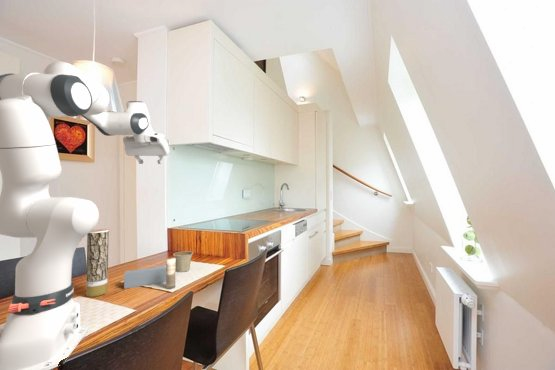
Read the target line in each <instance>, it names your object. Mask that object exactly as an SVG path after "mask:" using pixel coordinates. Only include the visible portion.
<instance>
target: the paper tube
mask: <svg viewBox="0 0 555 370" xmlns="http://www.w3.org/2000/svg"><path fill="white" fill-rule="evenodd" d="M109 232H110V231H109V229H107V228H97V229H95V228H94V229H93V230H92V231H91V232H90V233H88V234H87V235H86V237H87V239H86V243H87V245H86V286H85V287H86V296H87V297H90V298H95V297H100V296H102V295H105V294H106V293H107V292H108V290H109V289H108V288H109V286H108V285H109V284H108V283H109V281H108V280H109V236H110V235H109Z"/></svg>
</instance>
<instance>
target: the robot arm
mask: <svg viewBox="0 0 555 370" xmlns="http://www.w3.org/2000/svg"><path fill="white" fill-rule="evenodd" d="M109 94H110V93H109V92H108V90H107V89H106V87H105V86H104V85H103V84H101V82H99V81H98V80H97V79H95V78H94V77H93V76H91V75H90V74H89V73H87V72H86V71H84V70H83V69H80V68H79V67H77V66H75V65H74V64H71V63H69V62H65V61H54V62H51V63H50V64H48V65H47V66H46V67H45V69H44V71H43V73H40V72H23V73H3V74H0V175H1V179H2V184H1V192H0V235H2V236H7V237H11V238H27V239H29V238H33V239H34V238H36V242H35V245H34V248H33V250H32V252H31V253H29V254H27V255H26V256H24V257H23V258H21V259H20V260H19V261H18V262H17V263H16V266H15V279H14V281H15V282H14V287H15V288H14V294H13V295H12V299H11V302H10V304H9V306H8V310H7V313H8V314H7V316H6V321H5V323H4V327H3V328H2V329H3V330H2V332H1V335H0V370H54V369H55V368H57V367H59V366H58V364H59V362H60V361H61V360H63V359H65V358H67V357H68V358H69V357H70V356H71V354H72V353H73V351H74V350H75V349H76V347H77V346H78V345H79V343H81V341H82V340H83V339H84V338H85V336H86V335H87V333H88V327H87V326H81V310H80V309H81V307H80V305H81V304H80V303H78V301H76V300H74V298H73V297H74V291H75V290H74V289H75V288H74V283H73V282H72V274H73V273H72V272H73V271H72V270H73V261H74V260H73V259H74V256H75V253H76V252H75V251H76V250H77V248H78V246H79V244H80V242H81V241H82V240H83V239H84V238H85V237H87V234H88V233H90V232H91V231H92V230H95V228H96V227H97V225H98V224H99V223H98V222H99V221H100V220H99V219H100V211H99V208H98V207H97V205H96V203H95V202H93V201H91V200H90V199H86V198H81V197H74V196H51V195H50V192H49V191H50V184H51V183H52V182H54V181H55V180H57V179H58V178H59V177H60V176H61V175H62V172H63V168H62V164H61V160H60V155H59V151H58V148H57V144H56V143H57V142H56V140H55V139H56V138H55V136H54V133H53V130H52V128H51V125H50V119H51V118H62V117H80V116H81V117H82V118H83V119H85V120H87V121H88V122H89V123H91V124H92V125H93V126H94V127H95V128H96V129H97V130H98V131H99V132H100V133H101V134H102V135H103V136H106V137H108V136H109V137H110V136H125V137H123V138H122V142H123V144H124V151H125V154H126V155H127V156H128V157H129V156H132V157H133V156H134V159H135V160H137V162H138V165H140V164H141V165H143V164H144V159H143V158H142V159H141V157H142V156H146V157H147V156H149V157H151V156H152V157H155V156H156V157H158V158H159V159H158V160H156V162H157V164H158V165H161V164H163V158H164V157H166V156H168V155H169V154H170V152H171V151H170V149H171V148H170V147H169V143H168V141H167V140H166V139H165V138H166V135H165V134H164V133H160V132H158V131H155V130H154V128H153V126H152V120H151V116H150V115H151V114H150V112H149V109H148V106H147V104H146V103H145V102H144V101H140V100H139V101H138V100H130V101H127V102H125V103H126V109H125V111H106V110H107V109H108V108H109V105H110V95H109ZM68 358H67V359H68Z"/></svg>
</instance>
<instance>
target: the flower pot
mask: <svg viewBox="0 0 555 370" xmlns="http://www.w3.org/2000/svg"><path fill="white" fill-rule="evenodd" d="M193 255H194V252H193V251H187V250H184V251H182V250H181V251H177V252H174V253H173V255H172V256H173V258H176V269H175V272H177V273H184V272H188V271H190V268H191V260H192V256H193Z"/></svg>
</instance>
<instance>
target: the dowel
mask: <svg viewBox="0 0 555 370" xmlns="http://www.w3.org/2000/svg"><path fill="white" fill-rule="evenodd" d="M165 260H166V263H165V266H166V282H165V289H166V290H172V289H175V288H176V258H174V257H167V258H166V259H165Z"/></svg>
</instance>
